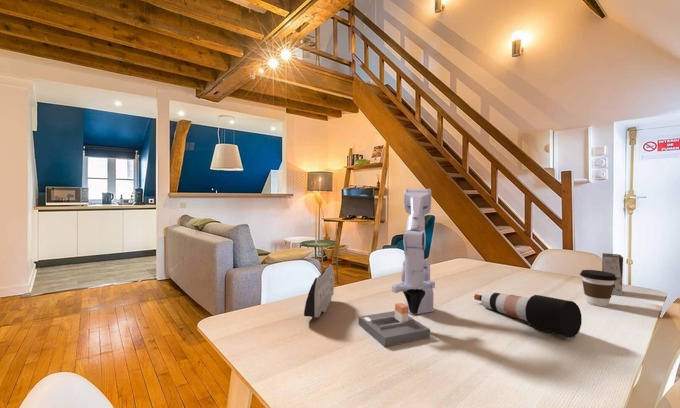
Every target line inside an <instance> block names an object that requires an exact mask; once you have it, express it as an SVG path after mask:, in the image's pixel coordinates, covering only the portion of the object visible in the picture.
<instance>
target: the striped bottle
mask: <svg viewBox="0 0 680 408" xmlns="http://www.w3.org/2000/svg"><path fill="white" fill-rule="evenodd" d="M473 298H474V300H477V301H479V302H481V304H482V306H483V307H484V309H485V308H486V309H489V310H493V311H495V312H499V313H501V314H505V315H507V316H509V317H513V318H516V319H521V320H524V321H526V322H527V323H528V324H529V326H530V327H532V328H534V329H538V330H541V331H545V332H547V333H552V334H555V335H559V336H561V337H566V338H568V339H569V338H570V339H572V338H574V337H576V336H577V335H578V334H579V332H580V330H581V326H582V322H583V321H582V320H583V319H582V312H581V309H580V307H579V305H578V304H577V303H576V302H575V301H571V300H567V299H563V298H562V299H561V298H555V297H550V296H544V295H539V294H533V295H532V296H530V297H527V296H521V295H520V296H519V295H515V294H507V293H500V292H493V291H489V290H487V291H485V292H483V293H482V294H477V293H475V294H474V295H473Z"/></svg>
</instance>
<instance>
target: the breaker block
mask: <svg viewBox="0 0 680 408" xmlns="http://www.w3.org/2000/svg"><path fill="white" fill-rule="evenodd" d="M358 325H359V326H360V327H361V328H362V329H363V330H364V331H365V332H366V333H368V334H369V335H370V336H371V337H372V336H373V337H372V338H374V339H375V340H376V341H377V342H378V343H379V344H380V343H381V346H382V347H384V348H387V347H392V346H396V345H401V344H407V343H412V342H417V341H421V340H426V339H430V338H431V329H430V328H429V327H427V326H425V325H424V324H422V323H421V322H419V321H417V320H415V319H414V318H413V317H411V316H409V315H408V321H404V322H399V321H398V320H396V319H395V310H394V311H387V312H386V311H385V312H380V313H379V312H378V313H372V314H368V315H362V316H361V315H360V316H358Z"/></svg>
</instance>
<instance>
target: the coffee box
mask: <svg viewBox="0 0 680 408" xmlns="http://www.w3.org/2000/svg"><path fill="white" fill-rule="evenodd" d="M601 254H602V255H601V258H602V259H601V271H604V272H609V273H612V274H614V275H615V277H616V278H617V280H615V281H614V287H613V291H612V296H613V295H614V296H618V297H619V296H623V295H622V294H623V277H624V276H623V273H624V257H623V255H622V254H617V253H606V252H604V253H601Z"/></svg>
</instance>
